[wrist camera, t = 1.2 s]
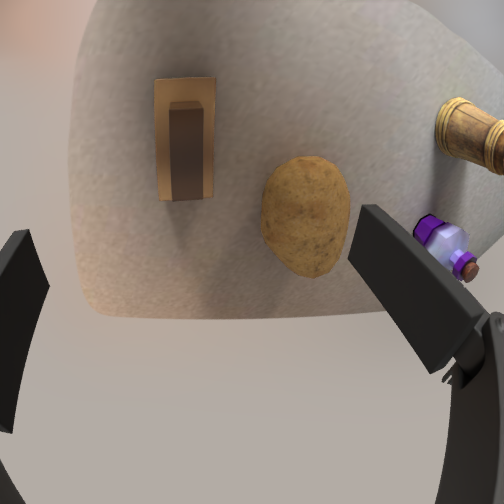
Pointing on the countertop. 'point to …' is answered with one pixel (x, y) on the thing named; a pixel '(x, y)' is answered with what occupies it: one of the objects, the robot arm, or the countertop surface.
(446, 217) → the countertop surface
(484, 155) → the wooden mug
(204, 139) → the brush
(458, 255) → the potion bottle
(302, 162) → the potato
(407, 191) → the countertop surface
